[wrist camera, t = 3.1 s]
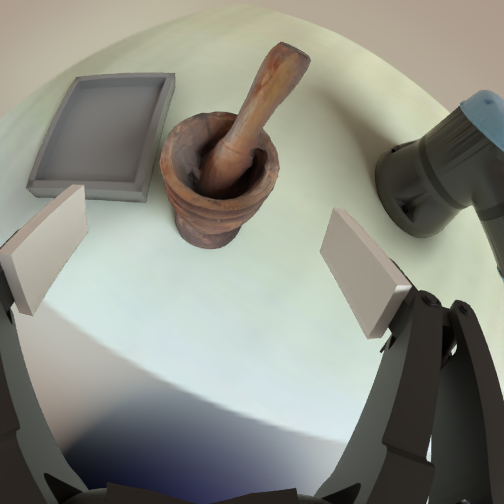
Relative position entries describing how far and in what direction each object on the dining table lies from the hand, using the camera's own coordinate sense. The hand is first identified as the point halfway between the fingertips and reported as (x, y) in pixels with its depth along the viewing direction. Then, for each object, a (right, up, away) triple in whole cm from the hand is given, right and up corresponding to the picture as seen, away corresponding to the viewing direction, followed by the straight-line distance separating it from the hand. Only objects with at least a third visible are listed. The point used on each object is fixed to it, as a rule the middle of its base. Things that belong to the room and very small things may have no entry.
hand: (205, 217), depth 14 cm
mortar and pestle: (-2, +4, +18) cm, 19 cm away
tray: (-17, +14, +17) cm, 28 cm away
